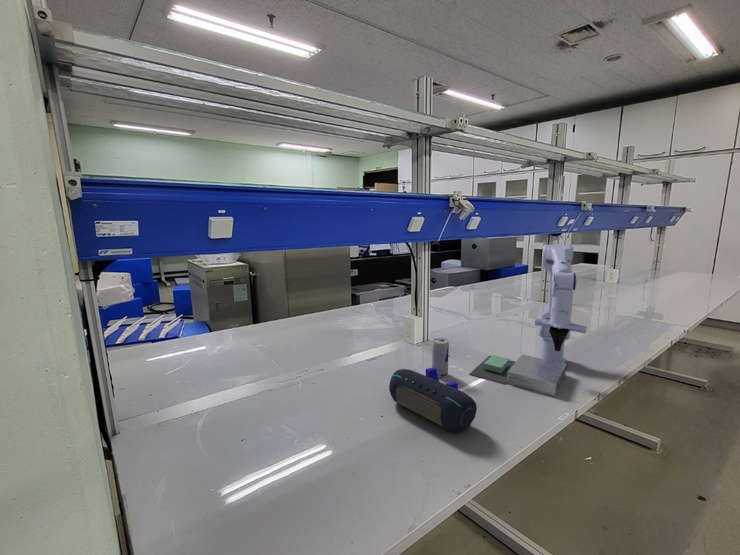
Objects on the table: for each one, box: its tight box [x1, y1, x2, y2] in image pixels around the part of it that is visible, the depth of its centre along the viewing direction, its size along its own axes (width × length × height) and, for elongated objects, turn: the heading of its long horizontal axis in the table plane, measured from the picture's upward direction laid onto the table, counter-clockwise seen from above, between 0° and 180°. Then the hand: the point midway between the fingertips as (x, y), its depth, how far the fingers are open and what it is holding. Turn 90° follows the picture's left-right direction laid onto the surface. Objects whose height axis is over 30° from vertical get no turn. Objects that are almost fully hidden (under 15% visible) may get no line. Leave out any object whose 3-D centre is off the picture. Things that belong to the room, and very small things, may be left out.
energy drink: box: [431, 338, 450, 379], centre depth 118 cm, size 5×5×12 cm
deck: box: [506, 354, 567, 397], centre depth 115 cm, size 18×14×4 cm
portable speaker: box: [388, 368, 478, 433], centre depth 94 cm, size 25×10×10 cm, turn 42°
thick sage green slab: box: [484, 354, 510, 373], centre depth 123 cm, size 9×6×3 cm, turn 142°
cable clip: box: [425, 367, 459, 390], centre depth 106 cm, size 12×4×6 cm, turn 24°
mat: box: [468, 355, 516, 385], centre depth 123 cm, size 20×12×1 cm, turn 142°
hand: (557, 350), depth 113 cm, fingers closed
